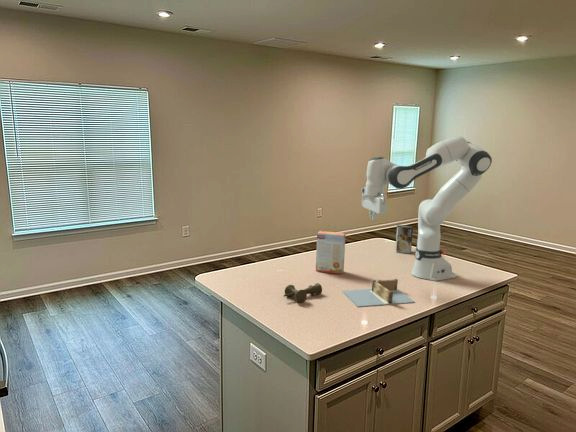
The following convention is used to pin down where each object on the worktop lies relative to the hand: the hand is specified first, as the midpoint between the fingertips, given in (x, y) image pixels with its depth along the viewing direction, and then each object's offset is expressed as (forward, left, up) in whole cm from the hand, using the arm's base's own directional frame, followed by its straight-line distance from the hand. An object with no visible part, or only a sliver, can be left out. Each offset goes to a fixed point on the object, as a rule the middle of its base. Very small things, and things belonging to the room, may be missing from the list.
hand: (372, 220), depth 210 cm
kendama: (+38, +14, -32) cm, 52 cm away
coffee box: (-44, -46, -31) cm, 71 cm away
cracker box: (+14, -18, -31) cm, 39 cm away
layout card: (+4, +19, -31) cm, 37 cm away
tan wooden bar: (+3, +21, -30) cm, 37 cm away
